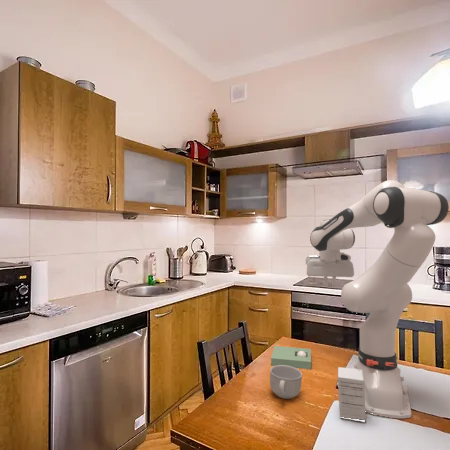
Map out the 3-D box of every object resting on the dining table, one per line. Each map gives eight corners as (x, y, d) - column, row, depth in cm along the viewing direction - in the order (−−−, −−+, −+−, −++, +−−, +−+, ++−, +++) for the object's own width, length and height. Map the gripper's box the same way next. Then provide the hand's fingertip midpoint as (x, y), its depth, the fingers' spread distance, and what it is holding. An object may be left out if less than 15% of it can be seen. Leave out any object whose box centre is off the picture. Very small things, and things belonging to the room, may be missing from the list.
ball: (307, 354, 134) (297, 351, 135) (305, 363, 134) (295, 360, 135) (307, 351, 138) (298, 348, 139) (305, 360, 138) (296, 357, 139)
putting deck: (311, 369, 129) (311, 361, 129) (271, 365, 133) (271, 358, 133) (310, 355, 142) (310, 348, 142) (274, 352, 146) (274, 345, 146)
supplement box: (339, 405, 103) (337, 366, 103) (364, 409, 100) (363, 369, 100) (339, 419, 96) (337, 376, 96) (366, 423, 93) (364, 380, 93)
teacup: (277, 383, 118) (276, 361, 118) (306, 391, 112) (306, 368, 112) (261, 401, 106) (261, 377, 106) (293, 411, 100) (292, 385, 100)
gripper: (305, 256, 143) (306, 287, 143) (354, 256, 139) (355, 288, 139) (305, 254, 149) (305, 284, 149) (352, 255, 145) (352, 285, 145)
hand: (330, 286), depth 144 cm, fingers closed
